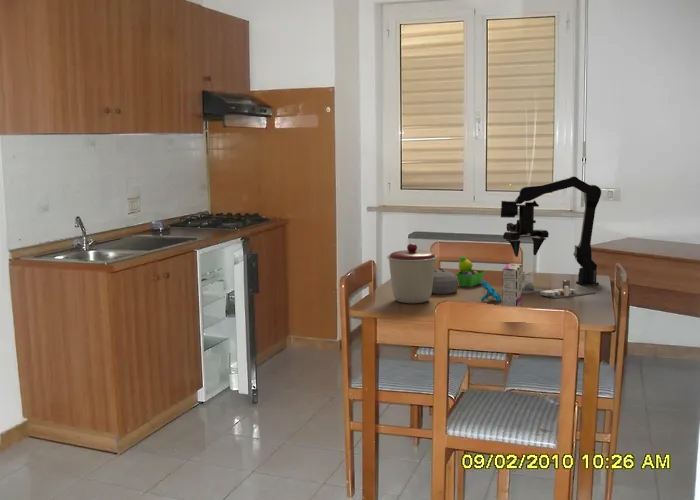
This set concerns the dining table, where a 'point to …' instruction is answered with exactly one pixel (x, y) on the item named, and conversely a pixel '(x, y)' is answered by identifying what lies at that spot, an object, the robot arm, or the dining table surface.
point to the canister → (412, 274)
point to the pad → (532, 291)
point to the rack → (558, 290)
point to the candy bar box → (512, 285)
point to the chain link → (527, 281)
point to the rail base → (566, 293)
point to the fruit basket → (468, 273)
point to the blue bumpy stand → (490, 292)
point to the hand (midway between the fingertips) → (525, 255)
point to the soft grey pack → (444, 282)
